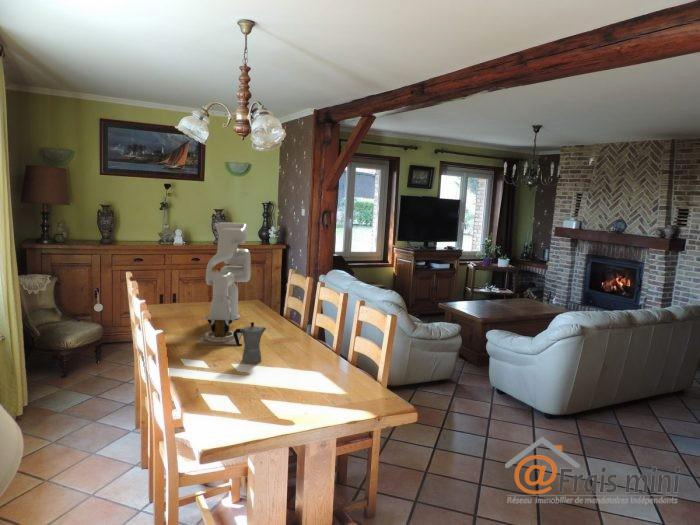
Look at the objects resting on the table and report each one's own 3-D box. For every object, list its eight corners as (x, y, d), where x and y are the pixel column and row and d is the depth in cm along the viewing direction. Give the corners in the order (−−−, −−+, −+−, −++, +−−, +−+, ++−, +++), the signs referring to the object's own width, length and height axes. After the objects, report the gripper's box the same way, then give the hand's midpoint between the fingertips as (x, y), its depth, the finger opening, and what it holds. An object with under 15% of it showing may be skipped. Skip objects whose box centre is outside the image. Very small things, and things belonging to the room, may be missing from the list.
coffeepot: (262, 355, 234) (262, 318, 231) (268, 361, 226) (269, 323, 223) (229, 359, 226) (230, 321, 224) (235, 366, 218) (236, 326, 215)
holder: (204, 333, 264) (204, 327, 263) (242, 334, 266) (242, 328, 265) (196, 344, 244) (196, 339, 244) (236, 345, 246) (237, 340, 245)
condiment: (224, 334, 260) (224, 312, 259) (231, 338, 254) (231, 315, 252) (210, 336, 256) (211, 313, 254) (217, 340, 249) (217, 317, 248)
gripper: (238, 297, 256) (238, 330, 259) (204, 296, 255) (204, 329, 257) (236, 300, 249) (236, 334, 251) (201, 299, 247) (201, 333, 250)
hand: (220, 331), depth 254 cm, fingers closed on condiment, 6 cm apart
